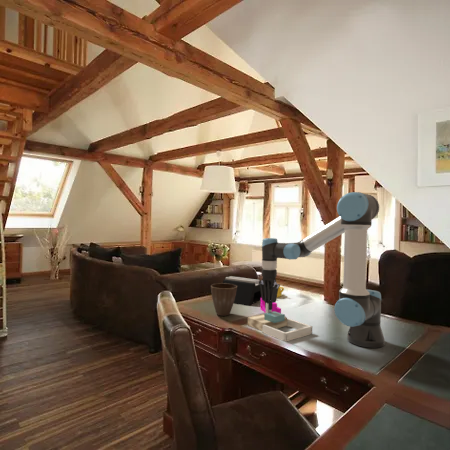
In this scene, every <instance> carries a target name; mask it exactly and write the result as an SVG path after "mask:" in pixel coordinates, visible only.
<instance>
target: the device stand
mask: <svg viewBox="0 0 450 450" xmlns="http://www.w3.org/2000/svg"><path fill="white" fill-rule="evenodd" d="M222 280H223V281H222V283H226V284H234V285H236V286H237V291H236V296H235V300H234V303H233V305H234V304H235V305H241V306H247V307H250V306H252V305H254V304H257V303H258V302H261V298H262V296H261V289H260V285H259V281H261V279H254V278H249V277H248V278H246V277H240V276H232V275H231V276H226V277H225V278H224V279H222Z"/></svg>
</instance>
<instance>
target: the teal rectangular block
mask: <svg viewBox="0 0 450 450" xmlns="http://www.w3.org/2000/svg"><path fill="white" fill-rule="evenodd" d="M263 314H264V320H267V321H270V322H273V323H277V322H281V321H285V317H286V315H285V314H284V313H282V312H281V313H278V312H275V311H274V312H269V313H265V312H263Z"/></svg>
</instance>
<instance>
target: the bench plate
mask: <svg viewBox="0 0 450 450" xmlns="http://www.w3.org/2000/svg"><path fill="white" fill-rule="evenodd" d="M287 319H288V317H286V316H285V321H281V322H277V323H273V322H270V321H267V320H264V313H262V314H256V315H253V316H248V317H247V326H249V327H251V328H254V329H256V330H259V331H261V332H262V328H263V325H267V326H270V327H272V328H275V329H281V328H284V327H288V326H287Z"/></svg>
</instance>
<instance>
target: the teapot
mask: <svg viewBox="0 0 450 450" xmlns="http://www.w3.org/2000/svg"><path fill="white" fill-rule="evenodd" d="M284 291H285V287H282V286H280V287H279V288H278V293H277V297H278V298H280V297H282V293H283V292H284Z"/></svg>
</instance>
